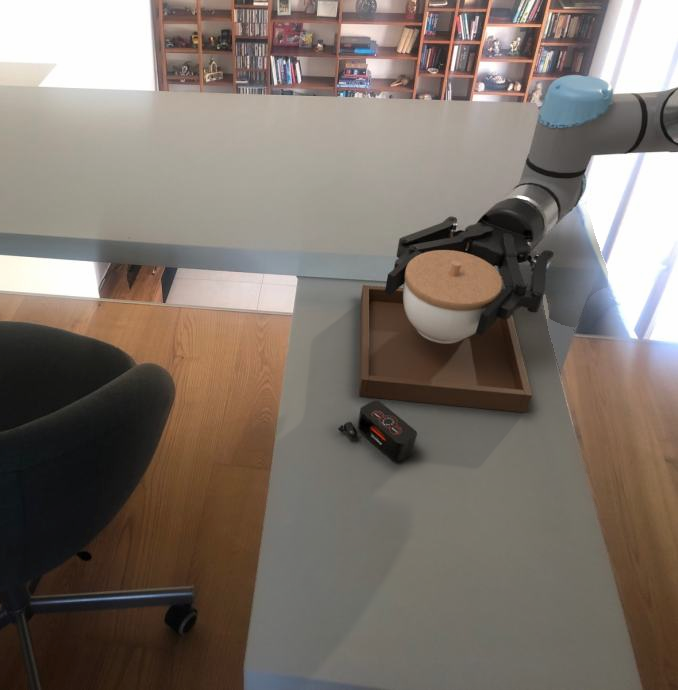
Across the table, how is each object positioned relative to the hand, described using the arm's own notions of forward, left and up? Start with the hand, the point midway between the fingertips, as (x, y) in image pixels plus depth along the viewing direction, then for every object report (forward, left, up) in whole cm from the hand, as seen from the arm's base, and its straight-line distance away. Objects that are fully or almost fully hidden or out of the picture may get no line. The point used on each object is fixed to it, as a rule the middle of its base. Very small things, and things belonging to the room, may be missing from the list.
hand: (433, 304), depth 78 cm
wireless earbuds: (-2, +13, -10) cm, 17 cm away
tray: (0, -4, -10) cm, 11 cm away
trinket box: (0, -4, -6) cm, 7 cm away
